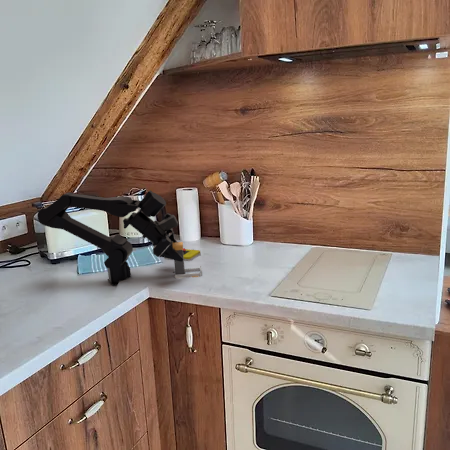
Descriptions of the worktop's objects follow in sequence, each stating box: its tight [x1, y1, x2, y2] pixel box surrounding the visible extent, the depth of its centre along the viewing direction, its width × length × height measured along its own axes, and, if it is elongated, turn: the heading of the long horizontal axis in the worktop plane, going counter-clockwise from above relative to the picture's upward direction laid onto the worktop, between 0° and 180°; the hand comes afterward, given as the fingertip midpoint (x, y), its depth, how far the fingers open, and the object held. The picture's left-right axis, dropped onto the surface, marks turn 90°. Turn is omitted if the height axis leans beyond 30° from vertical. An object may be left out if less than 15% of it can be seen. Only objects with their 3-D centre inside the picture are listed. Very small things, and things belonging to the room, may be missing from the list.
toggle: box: [173, 241, 186, 276], centre depth 154 cm, size 3×4×11 cm
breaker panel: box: [172, 265, 203, 279], centre depth 156 cm, size 10×7×3 cm, turn 94°
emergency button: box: [163, 247, 202, 262], centre depth 175 cm, size 9×4×15 cm
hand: (182, 256), depth 154 cm, fingers open, 9 cm apart
